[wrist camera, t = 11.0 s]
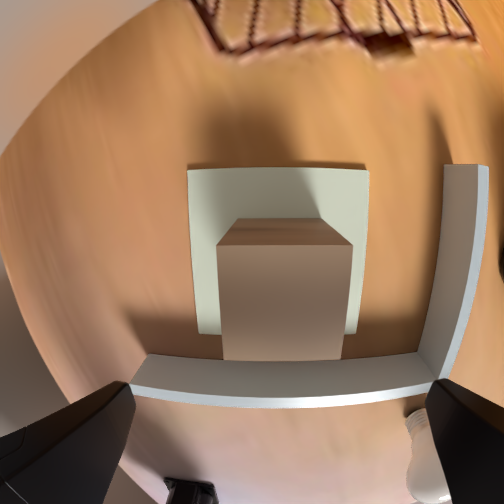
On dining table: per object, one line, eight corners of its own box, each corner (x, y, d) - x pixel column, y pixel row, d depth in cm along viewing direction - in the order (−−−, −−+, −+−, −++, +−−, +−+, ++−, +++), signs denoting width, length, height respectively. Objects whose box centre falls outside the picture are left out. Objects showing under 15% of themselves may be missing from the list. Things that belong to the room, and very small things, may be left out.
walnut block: (317, 296, 18) (340, 359, 11) (240, 296, 18) (223, 359, 12) (321, 218, 17) (353, 245, 10) (237, 218, 17) (215, 245, 10)
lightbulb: (384, 406, 21) (420, 502, 10) (444, 380, 20) (496, 461, 9) (386, 441, 22) (412, 523, 12) (439, 418, 21) (476, 491, 11)
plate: (354, 331, 19) (355, 333, 19) (199, 330, 20) (198, 333, 19) (367, 170, 16) (369, 170, 16) (189, 170, 17) (187, 170, 17)
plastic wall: (423, 360, 19) (443, 388, 16) (151, 363, 21) (132, 394, 17) (453, 166, 16) (488, 166, 12) (125, 161, 17) (92, 159, 13)
